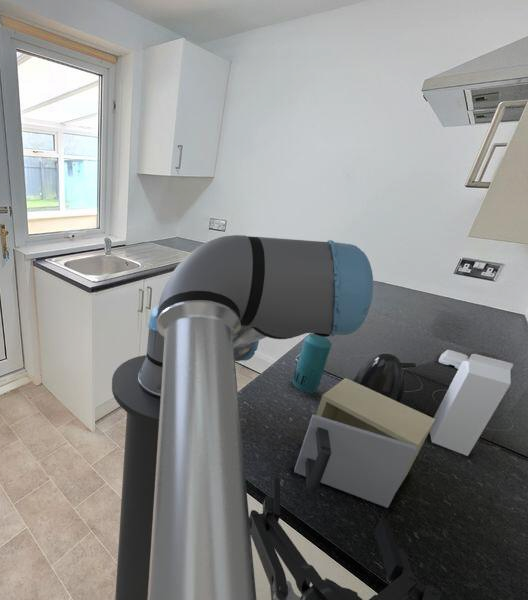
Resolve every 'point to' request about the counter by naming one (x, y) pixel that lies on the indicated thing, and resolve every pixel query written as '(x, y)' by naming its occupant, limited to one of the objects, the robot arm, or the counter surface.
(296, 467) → the oven door
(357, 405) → the oven
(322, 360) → the beverage bottle
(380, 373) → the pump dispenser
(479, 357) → the milk
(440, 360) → the soap
